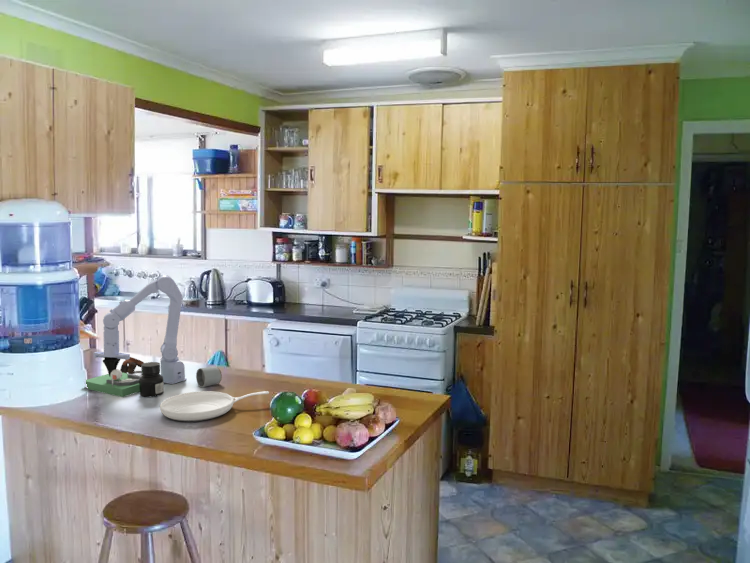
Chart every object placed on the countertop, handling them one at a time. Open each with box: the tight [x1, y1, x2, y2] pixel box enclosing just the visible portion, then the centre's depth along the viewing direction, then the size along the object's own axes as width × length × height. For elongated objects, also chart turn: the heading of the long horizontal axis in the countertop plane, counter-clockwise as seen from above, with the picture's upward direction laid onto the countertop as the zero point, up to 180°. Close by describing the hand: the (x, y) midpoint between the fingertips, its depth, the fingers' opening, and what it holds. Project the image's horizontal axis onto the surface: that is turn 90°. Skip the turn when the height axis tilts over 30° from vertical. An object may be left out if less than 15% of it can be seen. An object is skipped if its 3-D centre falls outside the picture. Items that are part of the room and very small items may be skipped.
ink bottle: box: [139, 361, 165, 398], centre depth 237 cm, size 10×9×12 cm
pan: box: [159, 390, 270, 422], centre depth 219 cm, size 25×38×5 cm, turn 111°
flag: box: [111, 374, 117, 387], centre depth 237 cm, size 3×1×8 cm, turn 60°
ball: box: [110, 368, 122, 380], centre depth 247 cm, size 4×4×4 cm
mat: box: [85, 372, 142, 398], centre depth 247 cm, size 24×16×4 cm, turn 60°
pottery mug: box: [119, 356, 145, 375], centre depth 268 cm, size 12×10×8 cm
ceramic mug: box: [195, 366, 223, 388], centre depth 251 cm, size 11×8×8 cm
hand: (111, 375), depth 248 cm, fingers closed
